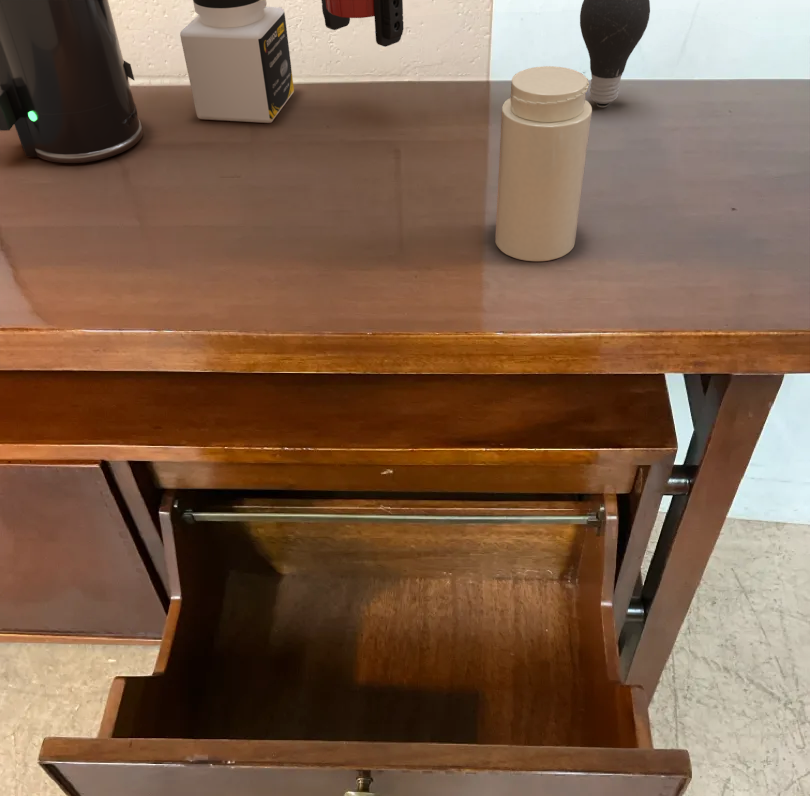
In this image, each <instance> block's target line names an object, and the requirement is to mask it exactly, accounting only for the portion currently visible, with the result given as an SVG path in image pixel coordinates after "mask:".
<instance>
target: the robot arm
mask: <svg viewBox="0 0 810 796" xmlns="http://www.w3.org/2000/svg"><path fill="white" fill-rule="evenodd" d="M403 1H404V0H374V16H373V17H374V32H375V34H374V35H375V43H376V44H377V45H378V46H381V47H389V46H392V45H395V44H397V43H399V42H400V41H401V39H402V36H403V34H404V5H403ZM321 12H322V16H323V18H324V25H325V27H326V29H330V30H333V31H337V30H339V29H342V28H345V27H347V26H348V25H350V22H351V18H345V17H339V16H336V15H333V14H331V13H330V12H329V11H328V9H327V8H326V0H321ZM129 79H131V80H132V81H135V76H134V71H133V69H132V65H131V63H129V62H127V61H126V60H124V57H123V53H122V49H121V45H120V42H119V37H118V34H117V30H116V26H115V23H114V18H113V15H112V10H111V6H110V3H109V0H0V132H2V131H3V132H5V131H6V132H7V131H10V130H11V129H12V128H13V127H14V128H15V130H16V133H17V136H18V138H19V141H20V144H21V146H22V149H23V152H24V155H25V157H26V158H27V157H28V158H31V157H33V158H34V157H36V158H40V159H42V160H44V161H48V162H53V163H60V164H81V163H89V162H90V163H91V162H95V161H96V162H97V161H101V160H104V159H107V158H111V157H114V156H117V155H119V154H121V153H124V152H126V151H128V150H130V149H131V148H132V147H134V146H135V145H137V143H139V142H140V141H141V139H142V137H143V133H144V130H143V126H142V123H141V120H140V119H139V116H138V109H137V105H136V103H135V100H134V96H133V92H132V88H131V84H130V81H129Z"/></svg>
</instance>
